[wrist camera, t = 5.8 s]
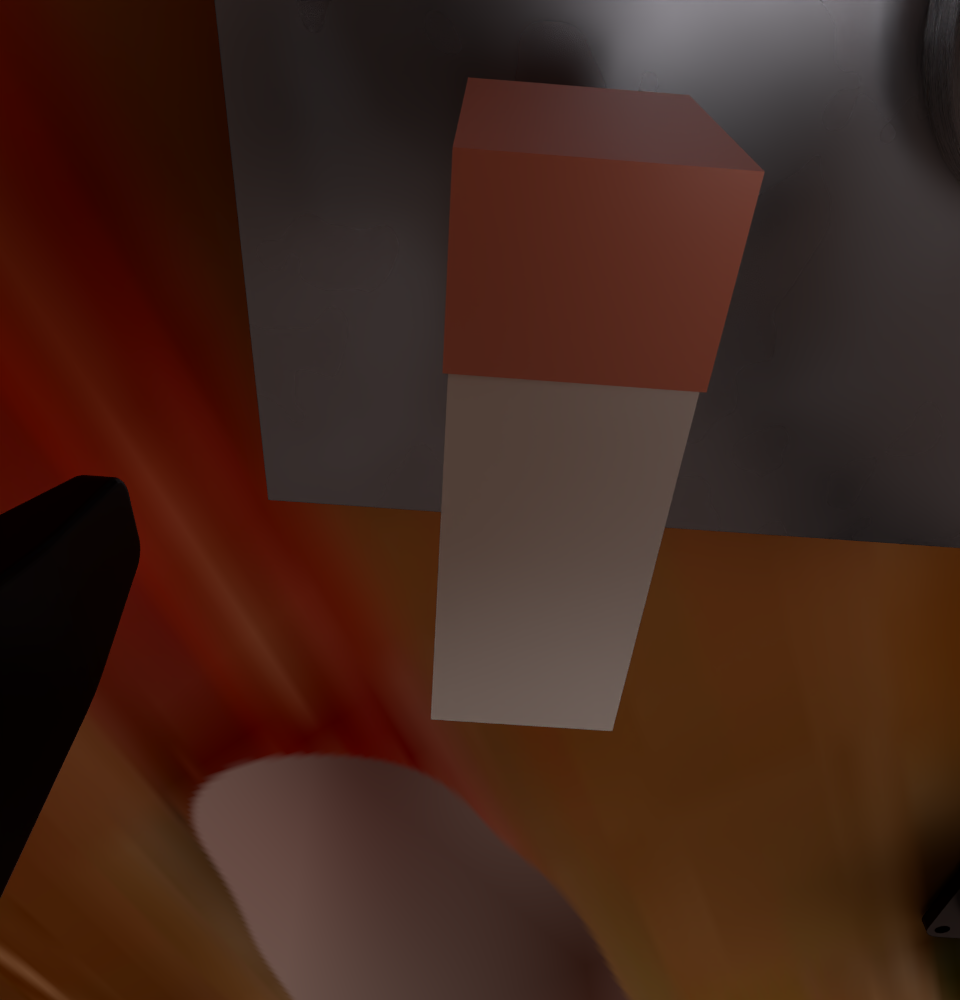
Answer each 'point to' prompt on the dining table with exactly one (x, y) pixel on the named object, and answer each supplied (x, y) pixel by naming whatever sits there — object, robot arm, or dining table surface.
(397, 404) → the grey board
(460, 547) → the orange and white block
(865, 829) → the dining table surface
